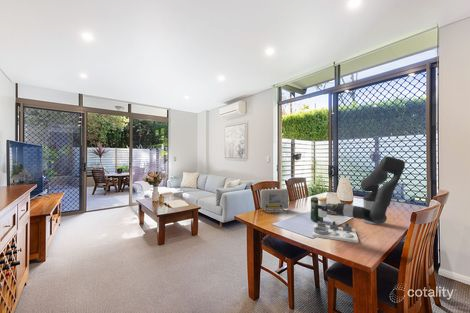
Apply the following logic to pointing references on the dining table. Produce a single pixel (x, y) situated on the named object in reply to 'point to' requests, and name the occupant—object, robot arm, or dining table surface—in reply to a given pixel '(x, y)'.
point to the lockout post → (323, 203)
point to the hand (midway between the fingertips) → (318, 205)
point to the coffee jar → (314, 210)
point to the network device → (274, 199)
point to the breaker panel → (335, 232)
